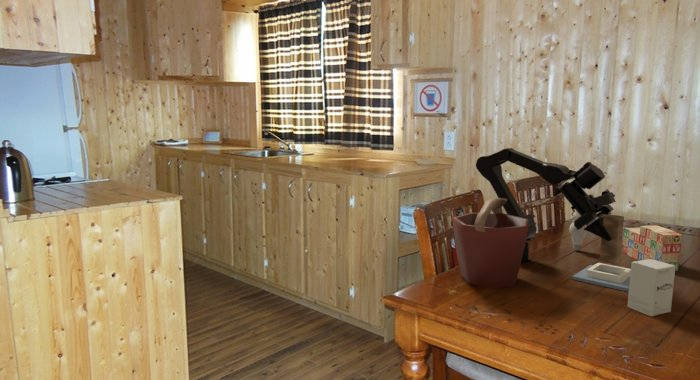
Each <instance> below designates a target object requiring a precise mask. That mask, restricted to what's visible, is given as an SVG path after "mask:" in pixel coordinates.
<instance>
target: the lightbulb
mask: <svg viewBox="0 0 700 380" xmlns="http://www.w3.org/2000/svg"><path fill="white" fill-rule="evenodd" d="M585 227H587V226H586V225H585V226H583V228H581V229H580V230H577V229H576V227H575V226H574V221H573V222H572V223H571V224H570V226H569V229H568V231H569V233H570V235H571V239H572V243H573V249H574V250H575V251H581V249H582V244H583V241H584V239H585V237H586V236H587V234H588V231H587V230H584V228H585Z"/></svg>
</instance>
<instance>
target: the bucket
mask: <svg viewBox="0 0 700 380" xmlns="http://www.w3.org/2000/svg"><path fill="white" fill-rule="evenodd" d="M507 200H508V199H504V198H498V197H491V198H489V199H487V200H486V201H485V203H484V204H483V205H482V207H481V209H480V210H479V212H469V213H466V214H465V213H464V214H462V215H459V216H458V215H457V216H453V217H452V230H453V236H454V241H455V247H456V255H457V259H458V265H459V270H460V277H462V278H463V279H464V280H465V281H466V282H467V284H468V285H473V286H477V287H478V286H479V287H484V288H490V289H498V288H506V287H513V286H516V283H517V279H518V276H519V272H520V267H521V264H522V262H521V260H522V256H523V252H524V248H525V244H526V240H527V234H528V219H526V218H522V217H517V216H513V215H508V214H507V213H504V212H503V205H504V204H505V203H506V201H507Z"/></svg>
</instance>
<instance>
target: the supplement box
mask: <svg viewBox="0 0 700 380" xmlns="http://www.w3.org/2000/svg"><path fill="white" fill-rule="evenodd" d="M630 263H631V265H630V269H631V273H630V284H629V292H628V297H627V308H630V309H631V310H634V311H636V312H639V313H641V314H645V315H647V316H649V317H654V316H659V315H663V314H666V313H671V310H672V302H673V294H674V284H675V275H676V274H675V273H676V271H675V267H676V266H674V265H671V264H668V263H664V262H660V261H657V260H653V259H646V260H641V261H639V260H637V261H636V260H634V261H632V262H630Z"/></svg>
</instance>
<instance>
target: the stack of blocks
mask: <svg viewBox="0 0 700 380" xmlns="http://www.w3.org/2000/svg"><path fill="white" fill-rule="evenodd" d="M622 237H623V238H622V253H623V254H624V255H627V256H629V257H630V258H633V259H635V261H636V260H637V261H641V260H646V259H653V260H657V261H660V262H664V263H668V264H671V265H674V266H676V267H675V272H679V266H680V255H681V249H682V238H683V234H681V233H679V232H676V231H674V230H671V229H668V228H666V227H663V226H659V225H655V224H654V225H640V227H626V228H625V227H623V234H622Z"/></svg>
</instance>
